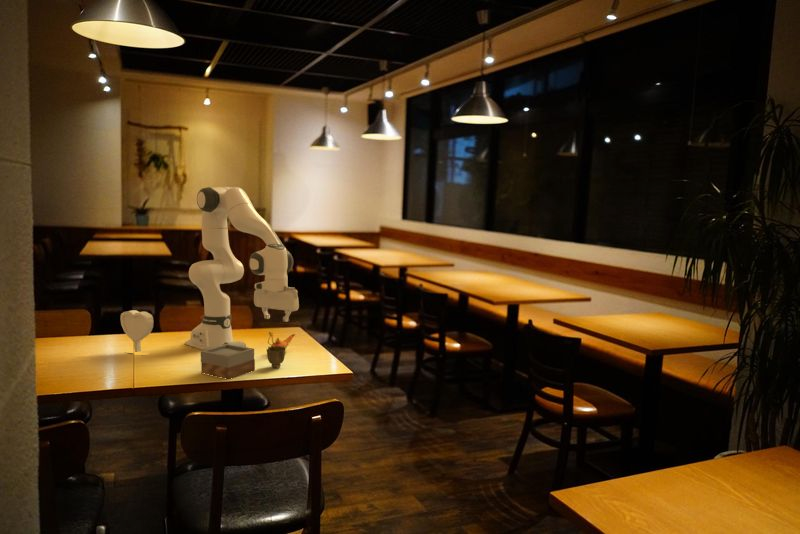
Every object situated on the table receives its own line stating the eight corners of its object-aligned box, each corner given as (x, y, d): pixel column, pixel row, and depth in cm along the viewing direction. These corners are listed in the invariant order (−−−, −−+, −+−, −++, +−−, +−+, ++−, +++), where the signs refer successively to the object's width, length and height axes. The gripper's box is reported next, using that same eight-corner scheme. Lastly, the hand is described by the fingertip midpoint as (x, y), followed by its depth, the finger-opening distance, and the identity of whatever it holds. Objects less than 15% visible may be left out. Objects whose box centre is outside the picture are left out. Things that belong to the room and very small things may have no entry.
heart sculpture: (119, 352, 255) (118, 310, 253) (129, 349, 260) (128, 308, 257) (146, 357, 248) (145, 314, 246) (155, 354, 253) (154, 312, 251)
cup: (281, 370, 234) (281, 350, 233) (263, 369, 236) (263, 349, 235) (288, 365, 242) (288, 346, 241) (271, 364, 243) (271, 344, 242)
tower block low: (201, 374, 228) (201, 361, 227) (228, 366, 240) (228, 353, 240) (228, 381, 221) (228, 367, 221) (254, 371, 234) (254, 359, 233)
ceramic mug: (248, 359, 249) (248, 341, 249) (230, 362, 244) (230, 344, 243) (235, 354, 257) (235, 336, 256) (217, 357, 251) (217, 339, 250)
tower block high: (200, 362, 227) (200, 351, 227) (227, 353, 240) (227, 343, 239) (228, 367, 221) (228, 356, 220) (254, 359, 233) (254, 348, 233)
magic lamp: (301, 349, 266) (301, 325, 265) (274, 359, 251) (274, 333, 249) (288, 347, 270) (289, 323, 268) (261, 356, 254) (261, 331, 253)
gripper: (302, 286, 233) (302, 321, 234) (262, 282, 242) (262, 315, 244) (292, 288, 227) (292, 324, 229) (251, 284, 237) (251, 318, 238)
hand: (276, 320), depth 236 cm, fingers open, 8 cm apart
